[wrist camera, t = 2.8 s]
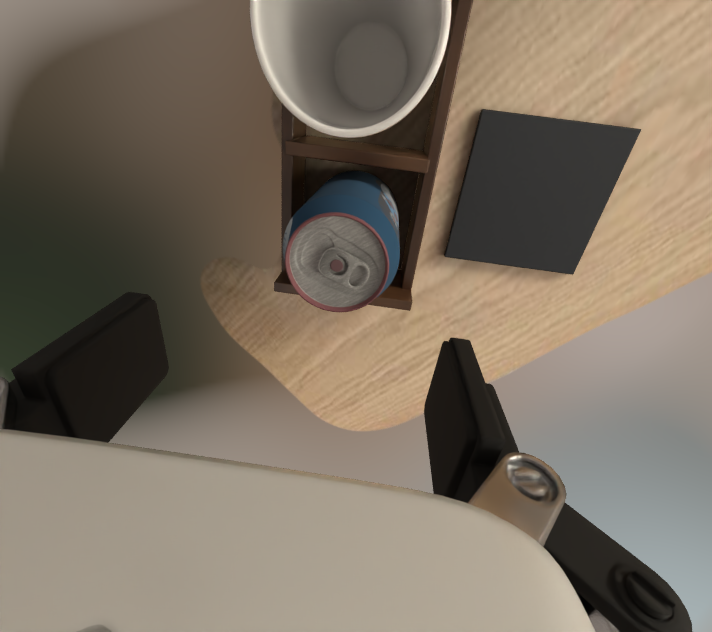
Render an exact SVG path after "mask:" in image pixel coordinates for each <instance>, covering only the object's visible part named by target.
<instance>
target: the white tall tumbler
mask: <svg viewBox="0 0 712 632" xmlns="http://www.w3.org/2000/svg"><path fill="white" fill-rule="evenodd" d="M250 22H251V30H252V37H253V42H254V46H255V50H256V54H257V57H258V60H259V63H260V65H261V68H262V71H263V73H264V75H265V77H266V79H267V81H268V83H269V85H270V86H271V88H272V90H273V91H274V93H275V94H276V96H277V97H278V99H279V100H280V101H281V102H282V104H283V105H284V106H285V107H286V108H287V109H288V110H289V111H290V112H291V113H292V114H293V115H294V116H295V117H296V118H298V119H299V120H300V121H302V122H303V123H305V124H306V125H308V126H309V127H311V128H313V129H315V130H317V131H319V132H322V133H325V134H328V135H331V136H336V137H344V138H357V137H365V136H370V135H374V134H377V133H380V132H383V131H385V130H387V129H389V128H391V127H392V126H394V125H396V124H397V123H399V122H400V121H401V120H403V119H404V118H405V117H406V116H407V115H408V114H409V113H410V112H412V110H413V109H414V108H415V107H416V106H417V105H418V104H419V102H420V101H421V100H422V98H423V97H424V95H425V94H426V92H427V91H428V89H429V87H430V86H431V84H432V82H433V80H434V78H435V76H436V74H437V72H438V70H439V67H440V65H441V62H442V59H443V56H444V53H445V49H446V45H447V41H448V36H449V30H450V22H451V0H250Z"/></svg>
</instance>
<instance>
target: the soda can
mask: <svg viewBox="0 0 712 632" xmlns="http://www.w3.org/2000/svg"><path fill="white" fill-rule="evenodd" d="M283 257H284V261H285V268H286V272H287V275H288V278H289V280H290V282H291V284H292V286H293V287H294V289H295V290H296V292H297V293H298V294H299V295H300V296H301V297H302V298H303V299H304V300H306V301H307V302H308V303H310V304H312V305H314V306H316V307H318V308H320V309H323V310H327V311H332V312H349V311H353V310H357V309H360V308H362V307H364V306H366V305H368V304H369V303H370V302H372V301H373V300H374V299H375V298H377V297H378V296H379V295H381V294H382V293H383V292H384V291H385V290H386V289H387V288H388V286H389V285H390V284H391V282H392V280H393V279H394V277H395V275H396V272H397V269H398V265H399V259H400V246H399V216H398V206H397V202H396V199H395V197H394V195H393V193H392V191H391V190H390V188H389V187H388V186H387V185H386V184H385V183H384V182H383V181H382V180H381V179H379V178H378V177H376V176H374V175H372V174H370V173H367V172H363V171H346V172H342V173H340V174H337V175H335V176H333V177H332V178H330V179H329V180H328V181H326V182H325V183H324V184H323V185H322V186H321V187H320V189H319V190H318V191H317V192H316V193H315V194H314V195H313V196H312V197H311V198H310V199H309V200H308V201H307V202H306V203H305V204H304V205H303V206H302V207H301V208H300V209H299V210H298V211H297V212H296V213H295V214H294V216H293V217H292V218H291V220H290V222H289V224H288V226H287V228H286V231H285V234H284V239H283Z"/></svg>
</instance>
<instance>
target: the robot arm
mask: <svg viewBox="0 0 712 632" xmlns="http://www.w3.org/2000/svg"><path fill="white" fill-rule="evenodd" d="M168 368H169V367H168V360H167V356H166V350H165V345H164V340H163V335H162V330H161V325H160V320H159V315H158V310H157V305H156V303H155V301H154V300H152V299H151V297H150V296H149V295H147V294H140V293H132V292H128V293H125V294H124V295H122V296H121V297H119V298H118V299H116V300H115V301H113V302H112V303H110V304H109V305H108V306H106V307H104V308H103V309H101V310H100V311H98V312H97V313H95V314H94V315H92V316H91V317H89V318H88V319H86V320H85V321H83V322H82V323H80V324H79V325H77V326H76V327H74V328H73V329H71V330H70V331H68V332H67V333H65V334H64V335H62V336H61V337H59V338H58V339H56V340H55V341H53V342H52V343H50V344H49V345H47V346H46V347H45V348H43V349H41V350H40V351H38V352H37V353H35V354H34V355H32V356H31V357H29V358H28V359H26V360H25V361H23V362H22V363H20V364H19V365H17V366H16V367H14V368H13V369H12V372H13V374H14V376H15V378H16V379H14V380H13V381H12V382H10V383H9V382H8V381H7V380H6V379H4V378H3V377H0V632H692V623H691V620H690V617H689V615H688V612H687V610H686V608H685V606H684V605H683V603H682V601H681V600H680V598H679V597H678V595H677V594H676V593H675V591H674V590H673V589H672V588H671V587H670V586H669V584H668V583H667V582H666V581H665V580H663V579H662V578H661V577H660V576H659V575H658V574H657V573H656V572H654V571H653V570H652V569H651V568H649V567H648V566H647V565H645V564H644V563H643V562H641V561H640V560H639V559H638V558H636V557H635V556H633V555H632V554H631V553H630V552H628V551H627V550H626V549H625V548H623V547H622V546H621V545H619V544H618V543H617V542H616V541H614V540H613V539H611V538H610V537H609V536H608V535H606V534H605V533H604V532H603V531H601V530H600V529H599V528H597V527H596V526H595V525H593V524H592V523H591V522H589V521H588V520H587V519H586V518H584V517H583V516H582V515H580V514H579V513H578V512H577V511H575V510H574V509H573V508H571V507H570V506H569V505H567V504H566V503H565V499H566V490H565V486H564V484H563V482H562V480H561V479H560V477H559V476H558V474H557V473H556V472H555V471H554V470H553V469H552V468H551V467H550V466H549V465H547V464H546V463H545V462H544V461H542V460H540V459H538V458H536V457H534V456H532V455H529V454H526V453H519V451H518V448H517V445H516V443H515V440H514V438H513V435H512V433H511V430H510V427H509V425H508V423H507V420H506V417H505V415H504V412H503V410H502V407H501V404H500V402H499V399H498V397H497V394H496V391H495V389H494V387H493V386H492V385H491V384H487V383H485V381H484V378H483V376H482V373H481V370H480V367H479V364H478V362H477V359H476V356H475V353H474V351H473V348H472V345H471V342H470V341H469V340H466V339H458V338H450V340H449V342H448V341H444V342H443V344H442V347H441V350H440V354H439V357H438V361H437V364H436V367H435V371H434V374H433V378H432V381H431V385H430V388H429V392H428V395H427V398H426V402H425V408H424V415H425V424H426V432H427V441H428V449H429V457H430V466H431V474H432V482H433V491H434V494H432V493H427V492H423V491H418V490H413V489H408V488H402V487H396V486H390V485H384V484H378V483H373V482H367V481H361V480H355V479H348V478H342V477H335V476H329V475H323V474H316V473H309V472H303V471H296V470H290V469H284V468H277V467H271V466H263V465H257V464H251V463H244V462H237V461H231V460H224V459H217V458H211V457H204V456H197V455H190V454H183V453H177V452H170V451H163V450H156V449H149V448H142V447H135V446H128V445H121V444H114V443H108V442H109V441H110V440H111V439H112V438H113V436H114V435H115V434H116V433H117V432H118V431H119V430H120V428H121V427H122V426H123V425H124V424H125V423H126V421H127V420H128V419H129V418H130V417H131V416H132V414H133V413H134V412H135V411H136V410H137V409H138V408H139V406H140V405H141V404H142V403H143V402H144V400H146V398H147V397H148V396H149V395H150V394H151V392H152V391H153V390H154V389H155V388H156V387H157V386H158V385H159V383H160V382H161V381H162V380H163V379H164V378H165V376H166V375H167V373H168Z"/></svg>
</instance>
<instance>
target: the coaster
mask: <svg viewBox="0 0 712 632" xmlns="http://www.w3.org/2000/svg"><path fill="white" fill-rule="evenodd" d="M640 131H641V129H634V128H627V127H619V126H611V125H603V124H595V123H587V122H580V121H572V120H564V119H556V118H548V117H540V116H533V115H525V114H517V113H509V112H501V111H493V110H486V109H482V110H481V112H480V116H479V120H478V124H477V128H476V132H475V136H474V140H473V144H472V148H471V152H470V156H469V160H468V164H467V168H466V171H465V175H464V179H463V183H462V187H461V191H460V195H459V199H458V203H457V207H456V211H455V215H454V219H453V223H452V227H451V231H450V234H449V238H448V242H447V246H446V250H445V254H444V255H445V257H450V258H457V259H464V260H472V261H479V262H486V263H493V264H500V265H508V266H515V267H522V268H529V269H537V270H544V271H551V272H558V273H565V274H574V272H575V269H576V267H577V265H578V263H579V261H580V259H581V257H582V255H583V252H584V250H585V248H586V246H587V244H588V242H589V240H590V238H591V235H592V233H593V231H594V229H595V227H596V225H597V223H598V220H599V218H600V216H601V214H602V212H603V210H604V208H605V206H606V203H607V201H608V199H609V197H610V195H611V193H612V191H613V189H614V186H615V184H616V182H617V180H618V178H619V176H620V174H621V171H622V169H623V167H624V165H625V163H626V161H627V159H628V157H629V154H630V152H631V150H632V148H633V146H634V144H635V142H636V140H637V137H638V135H639V133H640Z"/></svg>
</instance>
